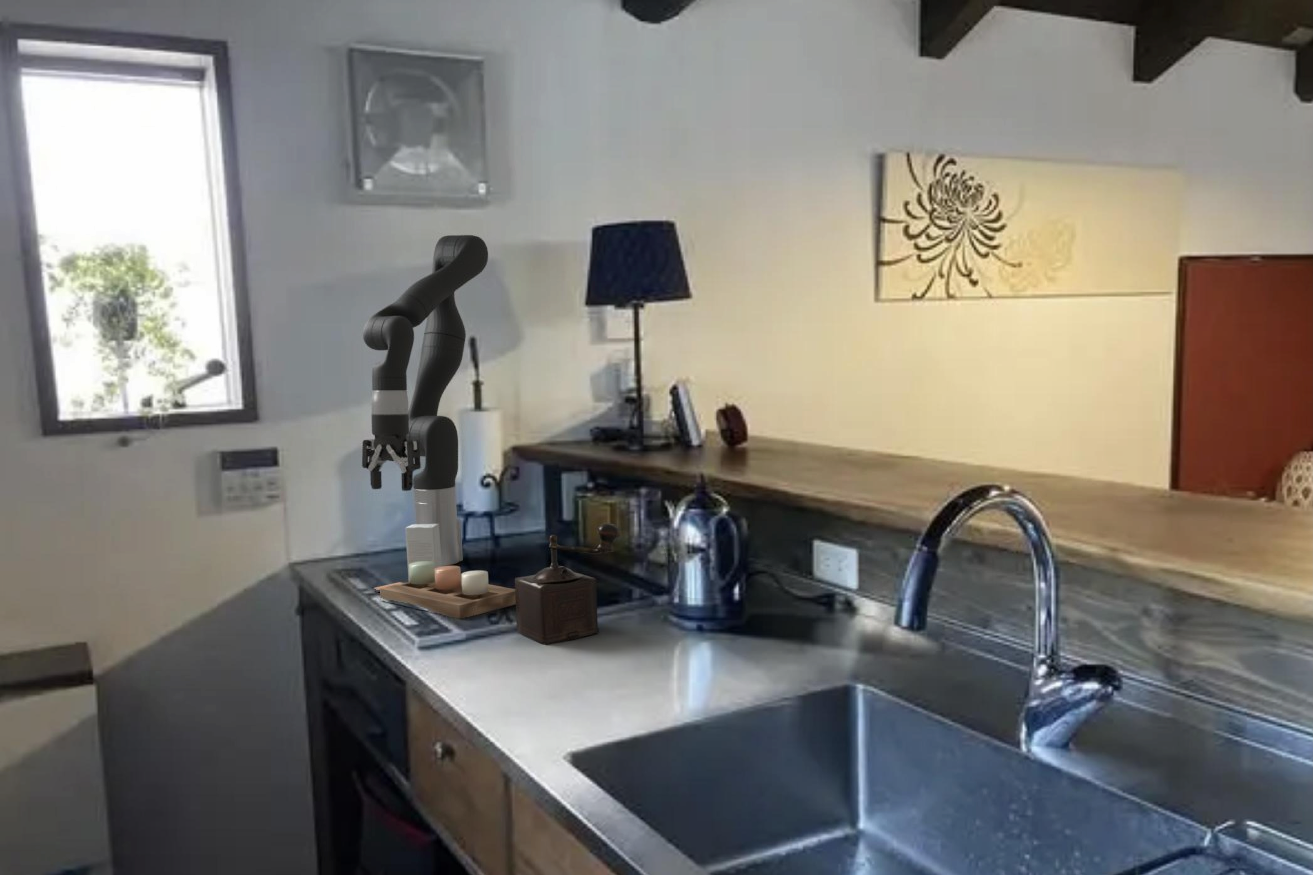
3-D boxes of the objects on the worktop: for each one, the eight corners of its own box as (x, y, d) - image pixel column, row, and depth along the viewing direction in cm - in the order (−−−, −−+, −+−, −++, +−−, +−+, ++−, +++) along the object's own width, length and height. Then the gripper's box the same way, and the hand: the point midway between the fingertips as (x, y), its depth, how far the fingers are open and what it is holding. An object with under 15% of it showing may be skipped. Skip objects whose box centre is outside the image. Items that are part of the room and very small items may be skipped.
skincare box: (443, 580, 219) (440, 523, 218) (436, 584, 215) (433, 526, 214) (414, 580, 220) (411, 523, 219) (407, 585, 216) (404, 527, 215)
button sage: (425, 577, 208) (424, 560, 208) (440, 580, 205) (439, 562, 205) (404, 582, 205) (403, 564, 204) (419, 585, 201) (418, 567, 201)
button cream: (477, 587, 198) (476, 569, 197) (494, 591, 195) (493, 572, 194) (456, 592, 194) (456, 574, 194) (473, 596, 191) (472, 577, 191)
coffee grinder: (546, 646, 168) (541, 535, 166) (514, 632, 177) (510, 526, 176) (628, 629, 177) (624, 523, 175) (594, 616, 186) (590, 515, 184)
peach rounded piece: (450, 582, 203) (449, 564, 203) (466, 585, 200) (465, 567, 200) (430, 587, 199) (429, 569, 199) (446, 590, 196) (445, 572, 196)
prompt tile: (399, 586, 215) (399, 582, 215) (417, 589, 211) (417, 585, 211) (374, 591, 211) (374, 587, 211) (392, 595, 207) (391, 591, 207)
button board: (439, 587, 213) (439, 574, 213) (519, 603, 197) (518, 590, 197) (380, 601, 202) (379, 588, 202) (459, 619, 187) (459, 605, 187)
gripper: (428, 412, 220) (429, 489, 221) (378, 411, 227) (379, 486, 228) (402, 413, 213) (404, 492, 214) (351, 412, 220) (353, 489, 221)
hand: (391, 489), depth 221 cm, fingers open, 8 cm apart
